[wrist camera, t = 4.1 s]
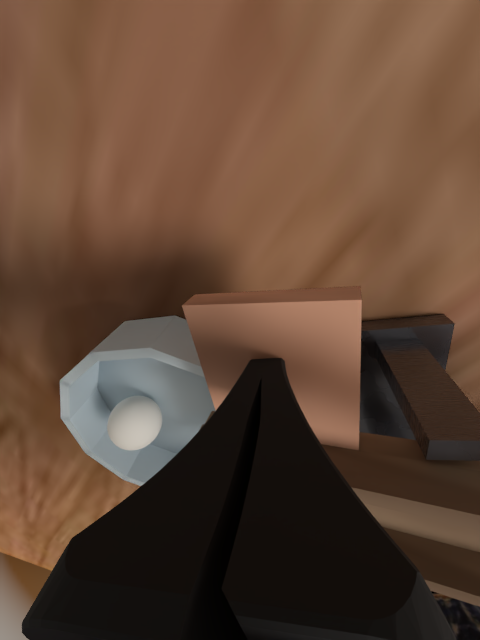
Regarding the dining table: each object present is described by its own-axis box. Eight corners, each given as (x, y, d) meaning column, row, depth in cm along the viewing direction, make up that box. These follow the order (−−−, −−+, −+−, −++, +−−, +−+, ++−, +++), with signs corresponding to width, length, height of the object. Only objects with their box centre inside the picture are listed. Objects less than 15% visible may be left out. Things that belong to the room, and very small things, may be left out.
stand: (421, 442, 18) (489, 576, 12) (344, 441, 19) (371, 564, 13) (443, 314, 14) (569, 424, 8) (342, 323, 15) (381, 426, 9)
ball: (122, 472, 17) (117, 435, 20) (174, 442, 18) (162, 412, 21) (99, 435, 15) (96, 401, 18) (157, 405, 16) (146, 378, 19)
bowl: (280, 454, 21) (278, 502, 18) (134, 452, 24) (112, 492, 21) (252, 306, 15) (243, 339, 12) (63, 327, 18) (18, 358, 15)
